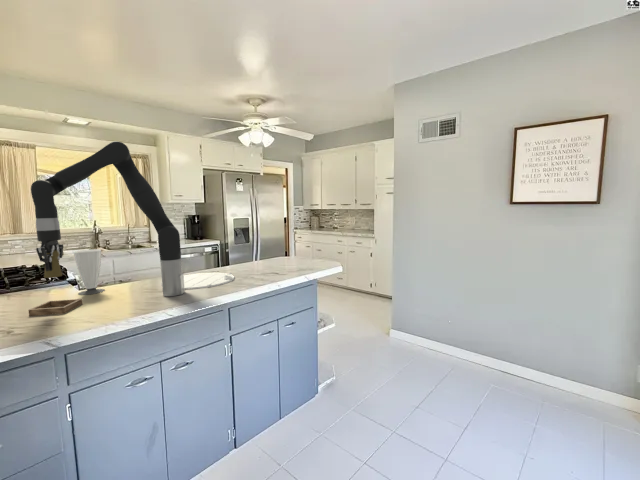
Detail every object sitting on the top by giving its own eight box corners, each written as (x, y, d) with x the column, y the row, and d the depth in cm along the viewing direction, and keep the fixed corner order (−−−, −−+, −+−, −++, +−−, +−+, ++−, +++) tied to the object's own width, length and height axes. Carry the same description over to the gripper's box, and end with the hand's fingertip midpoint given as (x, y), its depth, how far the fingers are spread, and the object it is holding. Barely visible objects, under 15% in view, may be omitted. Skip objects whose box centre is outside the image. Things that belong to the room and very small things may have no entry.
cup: (91, 295, 161) (86, 252, 159) (72, 294, 164) (67, 252, 162) (110, 289, 173) (106, 249, 170) (92, 289, 175) (88, 249, 173)
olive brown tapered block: (60, 274, 142) (57, 249, 140) (64, 275, 138) (61, 249, 137) (42, 276, 137) (39, 250, 136) (46, 278, 133) (43, 251, 132)
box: (82, 304, 146) (82, 298, 146) (64, 313, 134) (64, 307, 133) (50, 306, 144) (49, 300, 144) (29, 315, 131) (28, 309, 131)
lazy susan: (244, 274, 205) (244, 268, 205) (219, 289, 167) (219, 283, 166) (184, 274, 209) (183, 269, 209) (146, 290, 171) (145, 283, 170)
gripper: (47, 230, 129) (52, 272, 131) (68, 227, 143) (72, 266, 145) (25, 230, 128) (30, 273, 130) (49, 228, 142) (53, 267, 144)
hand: (52, 269), depth 137 cm, fingers closed on olive brown tapered block, 4 cm apart
